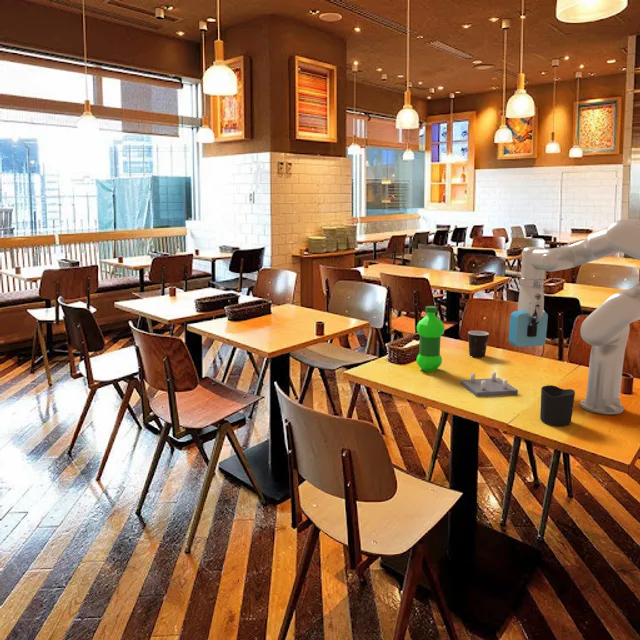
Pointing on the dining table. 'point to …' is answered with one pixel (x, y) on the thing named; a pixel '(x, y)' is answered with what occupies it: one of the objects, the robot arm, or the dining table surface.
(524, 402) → the dining table surface
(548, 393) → the pen holder
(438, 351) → the plastic bottle
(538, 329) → the blue rounded block
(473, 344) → the coffee mug
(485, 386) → the pin tray
